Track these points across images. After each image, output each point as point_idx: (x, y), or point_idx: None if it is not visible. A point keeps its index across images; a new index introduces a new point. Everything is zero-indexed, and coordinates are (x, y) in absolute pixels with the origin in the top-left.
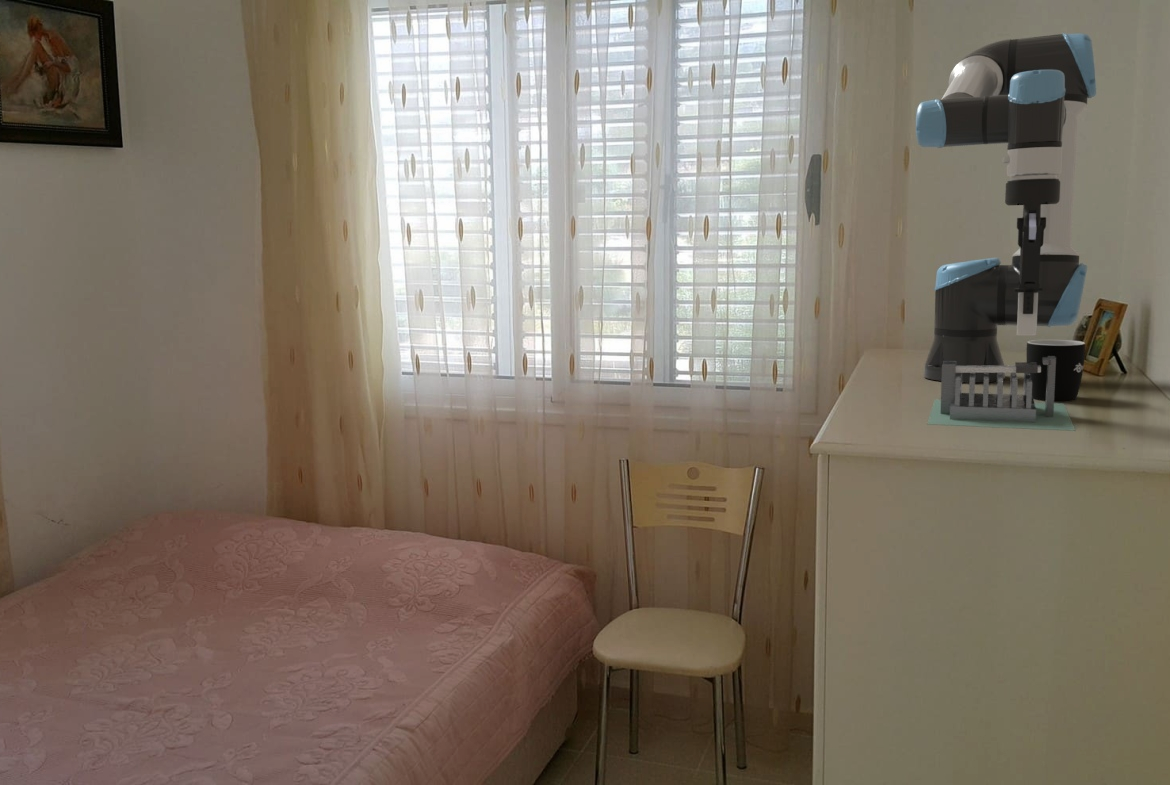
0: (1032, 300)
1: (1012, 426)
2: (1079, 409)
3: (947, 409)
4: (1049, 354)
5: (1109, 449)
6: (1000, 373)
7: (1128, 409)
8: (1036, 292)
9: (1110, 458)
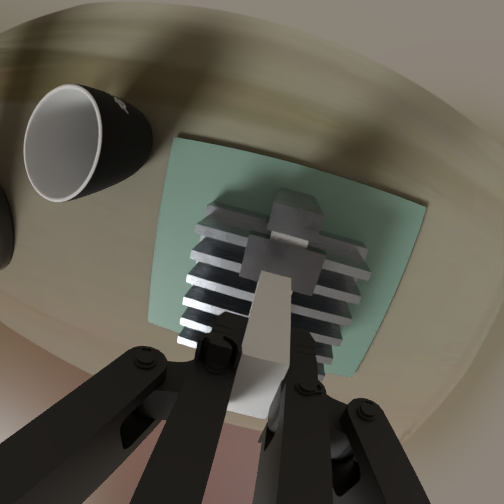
0: (315, 369)
1: (388, 285)
2: (195, 116)
3: None
4: (109, 163)
5: (498, 204)
6: (240, 293)
7: (197, 45)
8: (310, 379)
9: None
